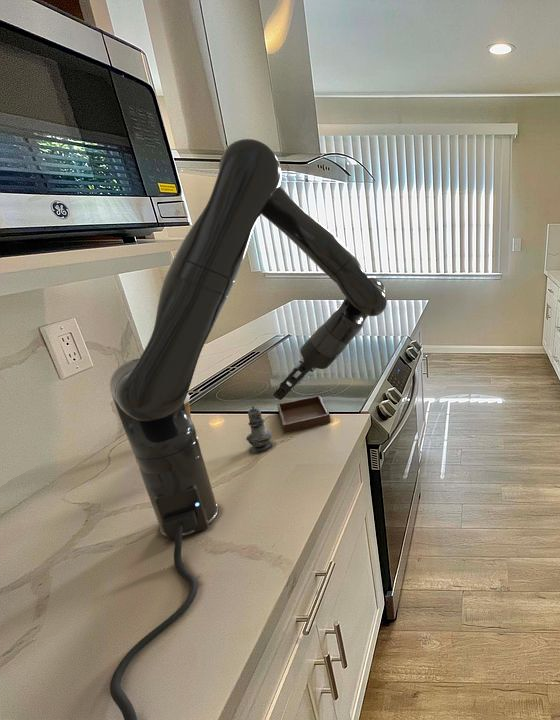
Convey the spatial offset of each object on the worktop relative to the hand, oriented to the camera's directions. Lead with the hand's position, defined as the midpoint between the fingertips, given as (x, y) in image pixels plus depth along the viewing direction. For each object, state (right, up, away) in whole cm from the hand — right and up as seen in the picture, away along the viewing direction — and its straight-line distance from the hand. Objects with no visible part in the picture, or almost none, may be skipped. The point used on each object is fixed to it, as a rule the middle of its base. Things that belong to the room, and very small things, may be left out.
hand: (285, 389), depth 97 cm
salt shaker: (-9, -16, +6) cm, 19 cm away
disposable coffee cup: (-34, -14, +11) cm, 38 cm away
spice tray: (-5, -10, +21) cm, 24 cm away
